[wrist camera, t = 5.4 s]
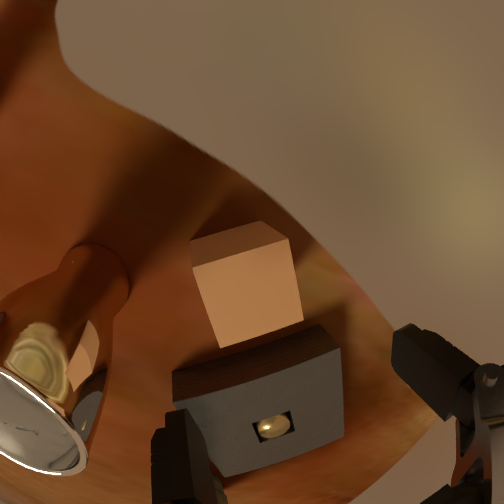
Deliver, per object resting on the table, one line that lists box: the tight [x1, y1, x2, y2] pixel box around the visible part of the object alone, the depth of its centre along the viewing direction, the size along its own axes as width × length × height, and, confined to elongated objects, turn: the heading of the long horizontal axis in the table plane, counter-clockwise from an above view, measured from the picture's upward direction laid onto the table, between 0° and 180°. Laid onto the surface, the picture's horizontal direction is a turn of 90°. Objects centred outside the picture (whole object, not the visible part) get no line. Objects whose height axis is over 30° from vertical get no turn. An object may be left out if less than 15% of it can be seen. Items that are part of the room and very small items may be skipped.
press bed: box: [172, 324, 344, 477], centre depth 25 cm, size 14×14×4 cm
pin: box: [255, 412, 290, 438], centre depth 25 cm, size 3×3×4 cm
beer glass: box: [0, 244, 129, 476], centre depth 13 cm, size 7×7×15 cm
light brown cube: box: [189, 220, 304, 348], centre depth 20 cm, size 6×6×6 cm
